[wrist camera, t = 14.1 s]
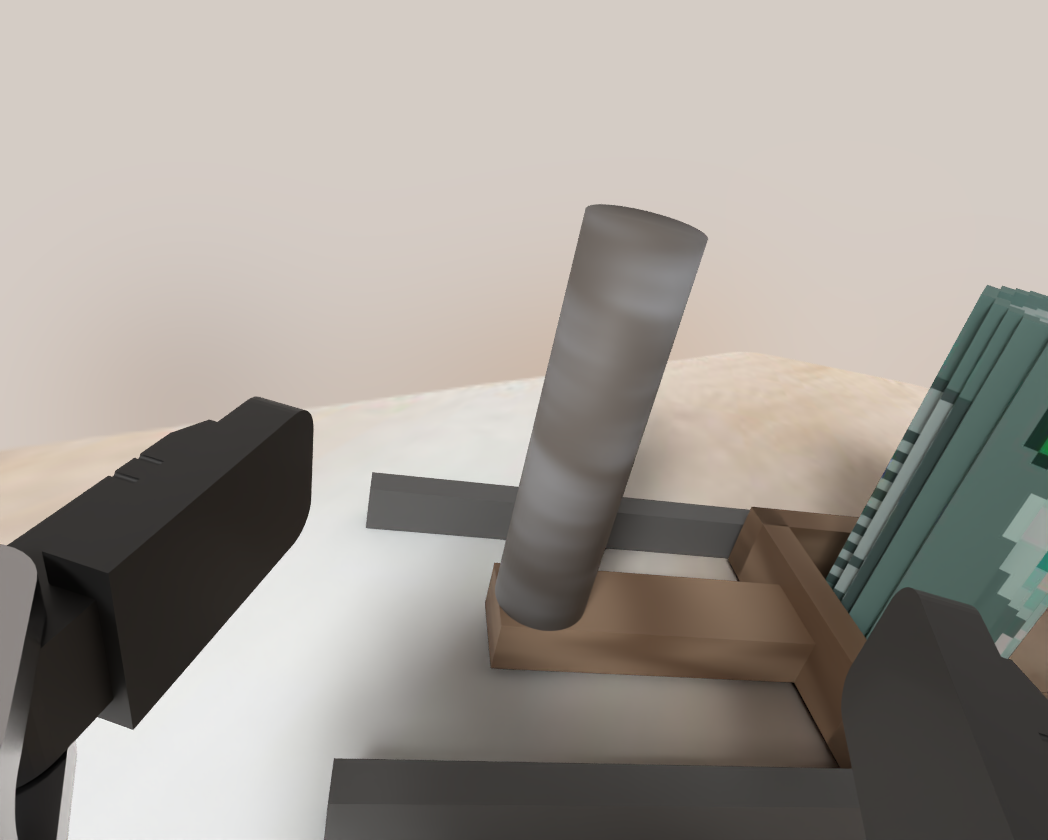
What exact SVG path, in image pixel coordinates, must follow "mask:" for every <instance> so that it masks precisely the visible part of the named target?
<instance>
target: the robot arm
mask: <svg viewBox="0 0 1048 840" xmlns="http://www.w3.org/2000/svg"><path fill="white" fill-rule="evenodd" d="M312 458H313V419H312V416H311V414H310V413H309V412H308V411H306V410H302V409H299V408H295V407H292V406H289V405H285V404H282V403H278V402H275V401H271V400H268V399H264V398H261V397H253V398H250V399H249V400H247V401H246V402H244V403H243V404H242V405H240V406H239V407H238V408H236V409H235V410H233V411H232V412H231V413H229V414H228V415H227V416H225V417H224V418H223V419H221V420H220V421H218V422H215V421H212V420H207V421H204V422H201V423H198V424H195V425H192V426H189V427H186V428H184V429H181V430H178V431H175V432H172V433H170V434H168V435H167V436H165V437H164V438H162V439H161V440H160V441H158V442H157V443H155V444H154V445H152V446H151V447H149V448H148V449H146V450H145V451H144V452H142V453H141V454H140V457H139V459H136V458H133V459H132V460H130V461H129V462H128V463H126V464H125V465H123V466H122V467H120V468H119V469H117V470H116V471H115V474H114V476H113V477H111V476H107V477H106V478H104V479H103V480H101V481H100V482H99V483H97V484H96V485H94V486H93V487H91V488H90V489H88V490H87V491H85V492H84V493H83V494H81V495H80V496H78V497H77V498H75V499H74V500H72V501H71V502H70V503H68V504H67V505H65V506H64V507H62V508H61V509H59V510H58V511H56V512H55V513H54V514H52V515H51V516H49V517H48V518H46V519H45V520H43V521H42V522H40V523H39V524H38V525H36V526H35V527H33V528H32V529H30V530H29V531H27V532H26V533H25V534H23V535H22V536H20V537H19V538H17V539H16V540H14V541H13V542H11V543H10V544H8V545H7V546H6V545H2V544H0V840H68V831H69V822H70V813H71V804H72V795H73V786H74V776H75V767H76V758H77V746H76V741H75V740H76V739H77V738H78V737H79V736H80V735H81V734H82V733H83V732H84V730H85V729H86V728H87V727H88V726H89V725H90V724H91V723H92V722H93V721H94V720H95V719H96V718H97V717H99V718H102V719H105V720H107V721H110V722H113V723H116V724H118V725H121V726H124V727H127V728H129V729H132V730H133V729H134V728H135V727H136V726H137V725H138V724H139V723H140V721H141V720H142V719H143V718H144V717H145V716H146V714H147V713H148V712H149V711H150V710H151V709H152V707H153V706H154V705H155V704H156V703H157V702H158V701H159V699H160V698H161V697H162V696H163V695H164V694H165V692H166V691H167V690H168V689H169V688H170V687H171V685H172V684H173V683H174V682H175V681H176V680H177V678H178V677H179V676H180V675H181V674H182V673H183V672H184V670H185V669H186V668H187V667H188V666H189V665H190V663H191V662H192V661H193V660H194V659H195V658H196V656H197V655H198V654H199V653H200V652H201V651H202V650H203V648H204V647H205V646H206V645H207V644H208V643H209V641H210V640H211V639H212V638H213V637H214V636H215V634H216V633H217V632H218V631H219V630H220V629H221V627H222V626H223V625H224V624H225V623H226V622H227V621H228V619H229V618H230V617H231V616H232V615H233V614H234V612H235V611H236V610H237V609H238V608H239V607H240V605H241V604H242V603H243V602H244V601H245V600H246V599H247V597H248V596H249V595H250V594H251V593H252V592H253V590H254V589H255V588H256V587H257V586H258V585H259V583H260V582H261V581H262V580H263V579H264V578H265V576H266V575H267V574H268V573H269V572H270V571H271V570H272V568H273V567H274V566H275V565H276V564H277V563H278V561H279V560H280V559H281V558H282V557H283V556H284V554H285V553H286V552H287V551H288V550H289V549H290V548H291V546H292V545H293V544H294V543H295V541H296V540H297V538H298V537H299V535H300V533H301V532H302V530H303V527H304V525H305V523H306V520H307V517H308V514H309V510H310V505H311V488H312ZM841 713H842V721H843V726H844V731H845V736H846V741H847V746H848V751H849V756H850V761H851V766H852V771H853V776H854V781H855V786H856V791H857V795H858V800H859V805H860V810H861V815H862V820H863V825H864V830H865V835H866V840H1048V699H1047V698H1046V697H1045V696H1044V695H1043V694H1042V693H1041V692H1040V691H1039V690H1038V688H1037V687H1036V686H1035V685H1034V684H1033V683H1032V682H1031V681H1030V680H1029V679H1028V677H1027V676H1026V675H1025V674H1024V673H1023V672H1022V671H1021V670H1020V669H1019V668H1018V666H1017V665H1016V664H1015V663H1014V662H1013V661H1012V660H1010V659H1006V658H1003V657H1001V655H1000V653H999V651H998V649H997V647H996V645H995V643H994V641H993V639H992V637H991V635H990V633H989V631H988V629H987V627H986V625H985V623H984V621H983V619H982V617H981V615H980V613H979V611H978V610H977V609H976V608H975V607H973V606H972V605H969V604H965V603H962V602H958V601H955V600H951V599H948V598H945V597H941V596H938V595H934V594H931V593H927V592H924V591H920V590H917V589H914V588H910V587H905V588H903V589H901V590H899V591H898V592H897V593H896V594H895V595H894V597H893V598H892V599H891V601H890V603H889V604H888V606H887V608H886V609H885V611H884V613H883V614H882V616H881V618H880V619H879V621H878V622H877V624H876V626H875V627H874V629H873V631H872V632H871V634H870V636H869V637H868V639H867V641H866V642H865V644H864V646H863V647H862V649H861V650H860V652H859V654H858V655H857V657H856V659H855V660H854V662H853V664H852V665H851V667H850V669H849V671H848V674H847V676H846V679H845V682H844V687H843V692H842V700H841Z"/></svg>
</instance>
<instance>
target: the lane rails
mask: <svg viewBox="0 0 1048 840" xmlns="http://www.w3.org/2000/svg"><path fill="white" fill-rule="evenodd" d="M518 488H519V487H514V486H504V485H494V484H484V483H474V482H464V481H454V480H444V479H434V478H424V477H414V476H404V475H394V474H384V473H374V472H372V480H371V487H370V496H369V505H368V514H367V522H366V528H375V529H386V530H398V531H410V532H422V533H434V534H446V535H458V536H470V537H482V538H494V539H506V538H507V534H508V530H509V526H510V522H511V518H512V513H513V509H514V505H515V501H516V497H517V493H518ZM749 511H750V510H746V509H736V508H725V507H715V506H705V505H695V504H685V503H675V502H665V501H655V500H645V499H635V498H625V497H622V500H621V503H620V506H619V509H618V512H617V515H616V518H615V521H614V524H613V527H612V530H611V533H610V536H609V539H608V542H607V545H606V548H613V549H625V550H637V551H649V552H661V553H672V554H684V555H696V556H708V557H720V558H729V556H730V554H731V552H732V549H733V547H734V545H735V543H736V540H737V538H738V536H739V534H740V531H741V529H742V527H743V525H744V523H745V520H746V518H747V516H748V514H749ZM324 840H866V835H865V830H864V825H863V820H862V815H861V810H860V805H859V800H858V795H857V791H856V786H855V781H854V776H853V771H852V769H842V768H792V767H741V766H690V765H639V764H589V763H538V762H487V761H437V760H386V759H335V758H334V763H333V770H332V777H331V785H330V792H329V800H328V808H327V818H326V827H325V837H324Z"/></svg>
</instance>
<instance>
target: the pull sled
mask: <svg viewBox="0 0 1048 840" xmlns="http://www.w3.org/2000/svg"><path fill="white" fill-rule="evenodd" d="M707 240H708V237H707V236H706V235H705V234H704V233H703V232H701V231H700V230H698V229H696V228H694V227H692V226H690V225H688V224H685V223H683V222H680V221H678V220H675V219H672V218H669V217H666V216H663V215H659V214H655V213H652V212H648V211H644V210H639V209H634V208H629V207H623V206H615V205H601V204H599V205H590V206H588V207H587V208H586V209H585V214H584V218H583V222H582V226H581V230H580V234H579V238H578V243H577V247H576V251H575V255H574V260H573V264H572V268H571V272H570V277H569V280H568V285H567V289H566V293H565V297H564V301H563V305H562V310H561V314H560V318H559V322H558V326H557V330H556V334H555V339H554V343H553V347H552V351H551V355H550V359H549V363H548V368H547V372H546V376H545V380H544V384H543V388H542V393H541V397H540V401H539V405H538V409H537V413H536V418H535V422H534V426H533V430H532V434H531V438H530V443H529V447H528V451H527V455H526V459H525V463H524V468H523V472H522V476H521V480H520V484H519V488H518V493H517V497H516V501H515V505H514V509H513V513H512V518H511V522H510V526H509V530H508V534H507V538H506V543H505V547H504V551H503V555H502V559H501V563H494V567H493V571H492V576H491V580H490V584H489V588H488V593H487V597H486V601H485V608H486V620H487V632H488V643H489V655H490V666H491V668H496V669H518V670H539V671H561V672H582V673H604V674H625V675H647V676H668V677H689V678H711V679H732V680H754V681H775V682H794V683H795V685H796V687H797V689H798V691H799V692H800V694H801V696H802V698H803V700H804V702H805V704H806V705H807V707H808V709H809V711H810V713H811V715H812V717H813V718H814V720H815V722H816V724H817V726H818V728H819V730H820V731H821V733H822V735H823V737H824V739H825V741H826V743H827V744H828V746H829V748H830V750H831V752H832V754H833V756H834V758H835V759H836V761H837V763H838V765H839V767H840V768H842V769H852V766H851V761H850V756H849V751H848V746H847V741H846V736H845V731H844V726H843V721H842V713H841V700H842V692H843V687H844V682H845V679H846V676H847V674H848V671H849V669H850V667H851V665H852V664H853V662H854V660H855V659H856V657H857V655H858V654H859V652H860V650H861V649H862V647H863V646H864V644H865V642H866V641H867V639H866V638H865V637H864V635H863V634H862V632H861V631H860V629H859V628H858V626H857V625H856V623H855V622H854V621H853V619H852V618H851V616H850V615H849V613H848V612H847V610H846V609H845V608H844V606H843V605H842V603H841V602H840V600H839V599H838V597H837V596H836V595H835V593H834V592H833V590H832V589H831V587H830V586H829V584H828V583H827V581H826V578H827V576H828V574H829V572H830V570H831V569H832V567H833V565H834V563H835V561H836V559H837V558H838V556H839V554H840V552H841V550H842V548H843V547H844V545H845V543H846V541H847V539H848V537H849V536H850V534H851V532H852V530H853V528H854V526H855V525H856V523H857V521H858V519H859V517H849V516H839V515H829V514H819V513H809V512H799V511H789V510H779V509H769V508H759V507H751V509H750V511H749V514H748V516H747V518H746V520H745V523H744V525H743V527H742V529H741V531H740V534H739V536H738V538H737V540H736V543H735V545H734V547H733V549H732V552H731V554H730V556H729V558H728V560H729V562H730V564H731V566H732V568H733V570H734V572H735V573H736V575H737V577H738V579H739V581H740V582H739V581H726V580H713V579H700V578H687V577H674V576H661V575H648V574H635V573H622V572H609V571H598V569H599V566H600V563H601V560H602V557H603V554H604V551H605V548H606V545H607V542H608V539H609V536H610V533H611V530H612V527H613V524H614V521H615V518H616V515H617V512H618V509H619V506H620V503H621V500H622V497H623V494H624V491H625V488H626V485H627V482H628V479H629V476H630V473H631V470H632V467H633V464H634V460H635V457H636V454H637V451H638V448H639V445H640V442H641V439H642V436H643V433H644V430H645V427H646V424H647V421H648V418H649V415H650V412H651V409H652V406H653V403H654V400H655V397H656V394H657V391H658V388H659V385H660V382H661V379H662V376H663V373H664V370H665V367H666V364H667V361H668V358H669V355H670V352H671V349H672V346H673V343H674V340H675V337H676V334H677V331H678V328H679V325H680V322H681V319H682V316H683V313H684V310H685V307H686V304H687V301H688V297H689V295H690V292H691V289H692V286H693V283H694V280H695V276H696V273H697V270H698V268H699V265H700V262H701V258H702V255H703V252H704V249H705V246H706V243H707ZM1041 693H1042V694H1043V695H1044V696H1045V697H1046V698H1047V699H1048V693H1044V692H1041Z"/></svg>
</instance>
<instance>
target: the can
mask: <svg viewBox="0 0 1048 840" xmlns="http://www.w3.org/2000/svg"><path fill="white" fill-rule="evenodd" d="M826 581H827V583H828V584H829V586H830V587H831V589H832V590H833V592H834V593H835V595H836V596H837V597H838V599H839V600H840V602H841V603H842V605H843V606H844V608H845V609H846V610H847V612H848V613H849V615H850V616H851V618H852V619H853V621H854V622H855V623H856V625H857V626H858V628H859V629H860V631H861V632H862V634H863V635H864V637H865V638H866V639H868V637H869V636H870V634H871V632H872V631H873V629H874V627H875V626H876V624H877V622H878V621H879V619H880V618H881V616H882V614H883V613H884V611H885V609H886V608H887V606H888V604H889V603H890V601H891V599H892V598H893V597H894V595H895V594H896V593H897V592H898V591H899V590H901V589H903V588H905V587H910V588H914V589H917V590H920V591H924V592H927V593H931V594H934V595H938V596H941V597H945V598H948V599H951V600H955V601H958V602H962V603H965V604H969V605H972V606H973V607H975V608H976V609H977V610H978V611H979V613H980V615H981V617H982V619H983V621H984V623H985V625H986V627H987V629H988V631H989V633H990V635H991V637H992V639H993V641H994V643H995V645H996V647H997V649H998V651H999V653H1000V655H1001V657H1003V658H1006V659H1008V658H1009V657H1010V656H1011V654H1012V653H1013V652H1014V650H1015V649H1016V648H1017V647H1018V645H1019V644H1020V643H1021V641H1022V640H1023V639H1024V637H1025V636H1026V635H1027V634H1028V632H1029V631H1030V630H1031V628H1032V627H1033V626H1034V625H1035V623H1036V622H1037V621H1038V619H1039V618H1040V617H1041V616H1042V614H1043V613H1044V612H1045V610H1046V609H1047V608H1048V296H1046V295H1042V294H1039V293H1036V292H1033V291H1030V292H1026V291H1024V290H1020V289H1017V288H1016V290H1014V289H1011V288H1007V287H1005V286H1002V287H1001V289H998V288H995V287H992V286H989V285H987V286H986V288H985V289H984V291H983V292H982V294H981V296H980V298H979V300H978V302H977V303H976V305H975V307H974V309H973V311H972V313H971V314H970V316H969V318H968V320H967V322H966V323H965V325H964V327H963V329H962V331H961V333H960V334H959V336H958V338H957V340H956V342H955V344H954V345H953V347H952V349H951V351H950V353H949V354H948V356H947V358H946V360H945V362H944V364H943V365H942V367H941V369H940V371H939V373H938V375H937V376H936V378H935V380H934V382H933V384H932V386H931V387H930V389H929V391H928V393H927V395H926V397H925V398H924V400H923V402H922V404H921V406H920V408H919V409H918V411H917V413H916V415H915V417H914V419H913V420H912V422H911V424H910V426H909V428H908V429H907V431H906V433H905V435H904V437H903V439H902V440H901V442H900V444H899V446H898V448H897V450H896V451H895V453H894V455H893V457H892V459H891V461H890V462H889V464H888V466H887V468H886V470H885V472H884V473H883V475H882V477H881V479H880V481H879V483H878V484H877V486H876V488H875V490H874V492H873V494H872V495H871V497H870V499H869V501H868V503H867V505H866V506H865V508H864V510H863V512H862V514H861V516H860V517H859V519H858V521H857V523H856V525H855V526H854V528H853V530H852V532H851V534H850V536H849V537H848V539H847V541H846V543H845V545H844V547H843V548H842V550H841V552H840V554H839V556H838V558H837V559H836V561H835V563H834V565H833V567H832V569H831V570H830V572H829V574H828V576H827V578H826Z"/></svg>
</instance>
